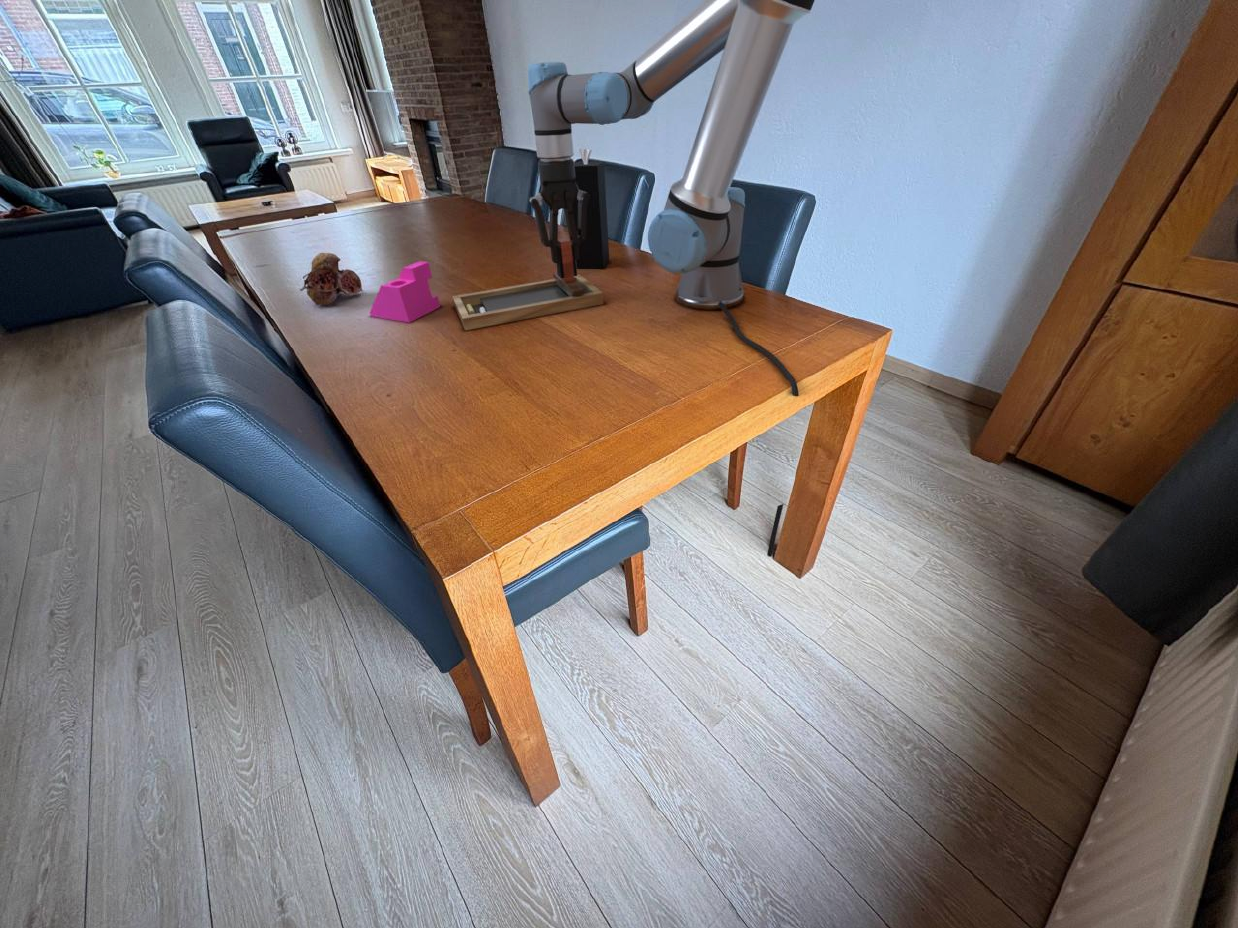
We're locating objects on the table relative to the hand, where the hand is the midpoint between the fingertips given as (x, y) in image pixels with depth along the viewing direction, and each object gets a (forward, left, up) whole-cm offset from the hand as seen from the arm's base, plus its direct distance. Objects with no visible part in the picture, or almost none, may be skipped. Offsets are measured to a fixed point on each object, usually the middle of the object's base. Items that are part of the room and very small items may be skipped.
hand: (567, 275), depth 116 cm
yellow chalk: (+1, +23, -5) cm, 24 cm away
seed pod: (+29, +53, -6) cm, 61 cm away
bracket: (+11, +37, -6) cm, 39 cm away
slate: (0, +10, -5) cm, 12 cm away
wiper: (0, 0, -3) cm, 3 cm away
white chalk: (-2, +21, -5) cm, 22 cm away
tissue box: (+23, -15, -6) cm, 28 cm away
